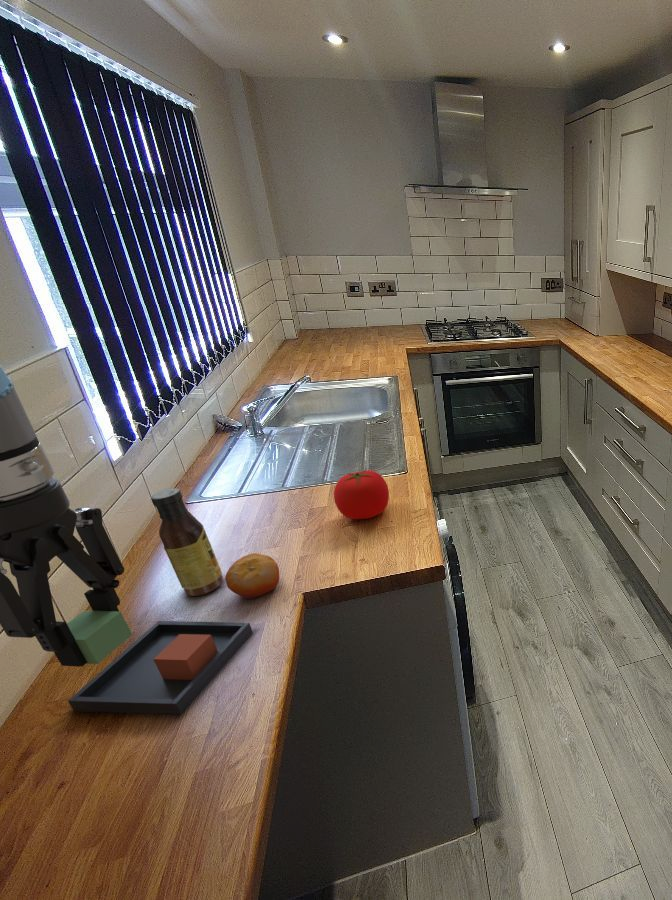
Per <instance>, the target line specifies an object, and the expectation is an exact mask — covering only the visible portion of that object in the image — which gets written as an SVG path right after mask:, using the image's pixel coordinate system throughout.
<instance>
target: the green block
mask: <svg viewBox="0 0 672 900" xmlns="http://www.w3.org/2000/svg"><path fill="white" fill-rule="evenodd" d="M66 623H67V625H68V627H69V629H70V631H71V632H72V634H73V636H74V638H75V641H76V643H77V644H78V646H79V648H80V650H81V651H82V653H83V655H84V657H85V659H86V660H87V663H86V664H87V665H88V664H90V665H99V664H100V663H101V662H102V661H103V660H105V658H107V657H108V656H109V655H110V654H112V652H114V651H115V650H117V648H119V647H120V646H121V645H122V644H123V643H124V642H126V641H127V640H129V638H131V637H132V636H133V633H132V631H131V628H130V627H129V625H128V623H127V621H126V619H125V617H124V615H123V613H122V611H119V612H117V611H93V610H91V609H90V610H89V609H87V610H84V611H82V612H81V613H78V615H76V616H75V617H74V618H73V619H71V620H69V621H68V622H66ZM86 664H85V665H86Z"/></svg>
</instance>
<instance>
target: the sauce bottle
mask: <svg viewBox="0 0 672 900" xmlns="http://www.w3.org/2000/svg"><path fill="white" fill-rule="evenodd" d="M150 500H151V502H152V505H153V506H154V507H155V508H156V510H157V513H158V515H159V519H161V523H160V526H159V528H158V535H159V538H160V540H161V543H162V545H163V549H164V551H165V553H166V556H167V559H168V560H169V562H170V564H171V566H172V569H173V571H174V573H175V576H176V578H177V580H178V582H179V584H180V587H181V588H182V589H183V590H184V593H185V594H186V595H187V596H191V597H197V596H202V595H206V594H208V593H211V592H212V591H214V590H217V589H219V587H221V585H222V583H223V581H224V577H223V575H222V572H223V571H222V569H221V566H220V565H219V562H218V559H217V556H216V553H215V552H214V550H213V546H212V543H211V542H210V540H209V537H208V535H207V532H206V530H205V528H204V525H203V524H202V523H201V521H199V520H198V519H197V517H195V516H194V515H193V514H192V513H191V512H190V511H189V510H188V508H187V507H186V505H185V502H184V500H183V494H182V492H181V490H180V489H179V488H176V487H175V488H173V487H172V488H168V489H167V488H166V489H161V490H159V491H157V492H155V493H153V494H152V495H151V497H150Z"/></svg>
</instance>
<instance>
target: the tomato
mask: <svg viewBox="0 0 672 900" xmlns="http://www.w3.org/2000/svg"><path fill="white" fill-rule="evenodd" d="M389 498H390V491H389V486H388V483H387V481H386V480H385V479H384V477H383V476H382V475H381V474H380V473H378V472H377V471H374V470H368V468H366V469H364V470H361V471H354V472H351V473H350V472H346V474H345V475H344V476H342V477H340V478H339V479H338V481H337V482H336V484H335V486H334V490H333V499H334V500H333V501H334V504H335V505H336V508H337V510H338V511H339V513H340V514H341V515H343V516H344V517H345V518H347V519H349V520H365V519H366V520H367V519H371V518H374V517H375V516H378V515H380V514H381V513H382V512H384V511H385V510H386V508H387V506H388V504H389Z"/></svg>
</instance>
